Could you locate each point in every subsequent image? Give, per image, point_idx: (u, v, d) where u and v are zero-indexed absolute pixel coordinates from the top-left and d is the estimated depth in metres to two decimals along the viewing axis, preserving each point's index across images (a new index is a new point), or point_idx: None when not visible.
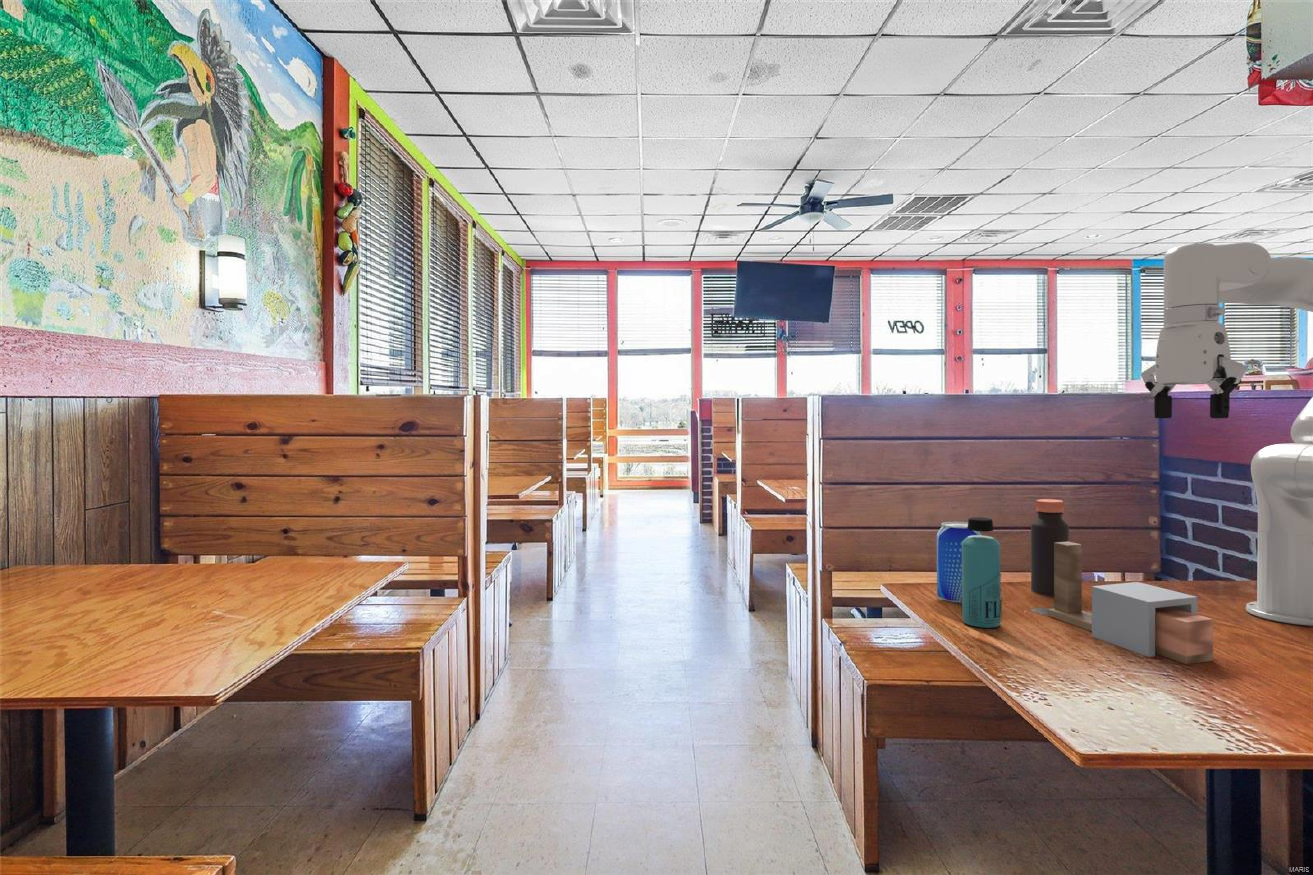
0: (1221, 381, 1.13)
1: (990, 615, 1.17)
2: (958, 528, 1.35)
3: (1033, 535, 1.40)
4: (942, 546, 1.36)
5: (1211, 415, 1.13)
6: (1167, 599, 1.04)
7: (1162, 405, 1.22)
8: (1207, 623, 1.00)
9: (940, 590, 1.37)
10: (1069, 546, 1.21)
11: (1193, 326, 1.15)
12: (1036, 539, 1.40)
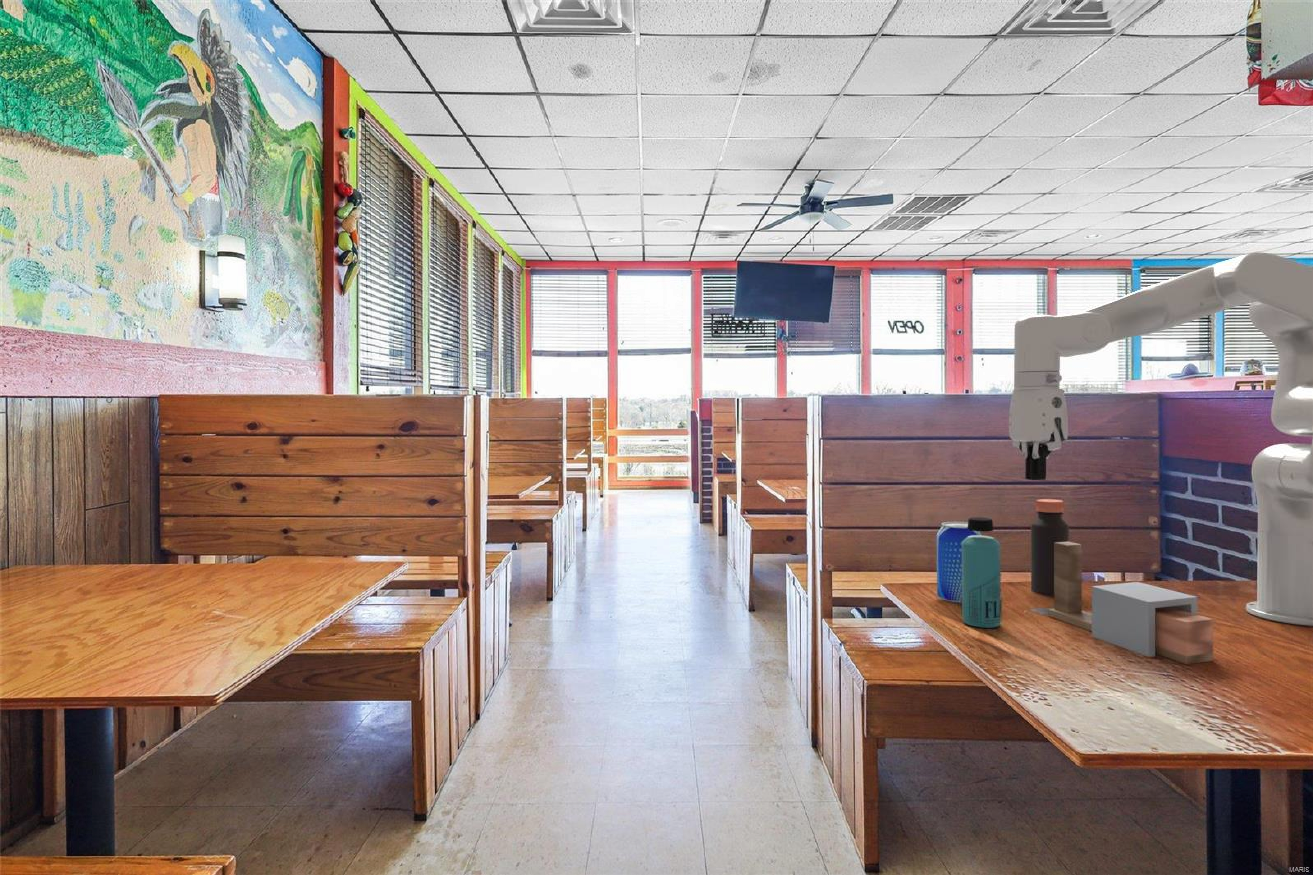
0: None
1: (990, 615, 1.17)
2: (958, 528, 1.35)
3: (1033, 535, 1.40)
4: (942, 546, 1.36)
5: (1030, 477, 1.28)
6: (1167, 599, 1.04)
7: None
8: (1207, 623, 1.00)
9: (940, 590, 1.37)
10: (1069, 546, 1.21)
11: (1035, 390, 1.26)
12: (1036, 539, 1.40)
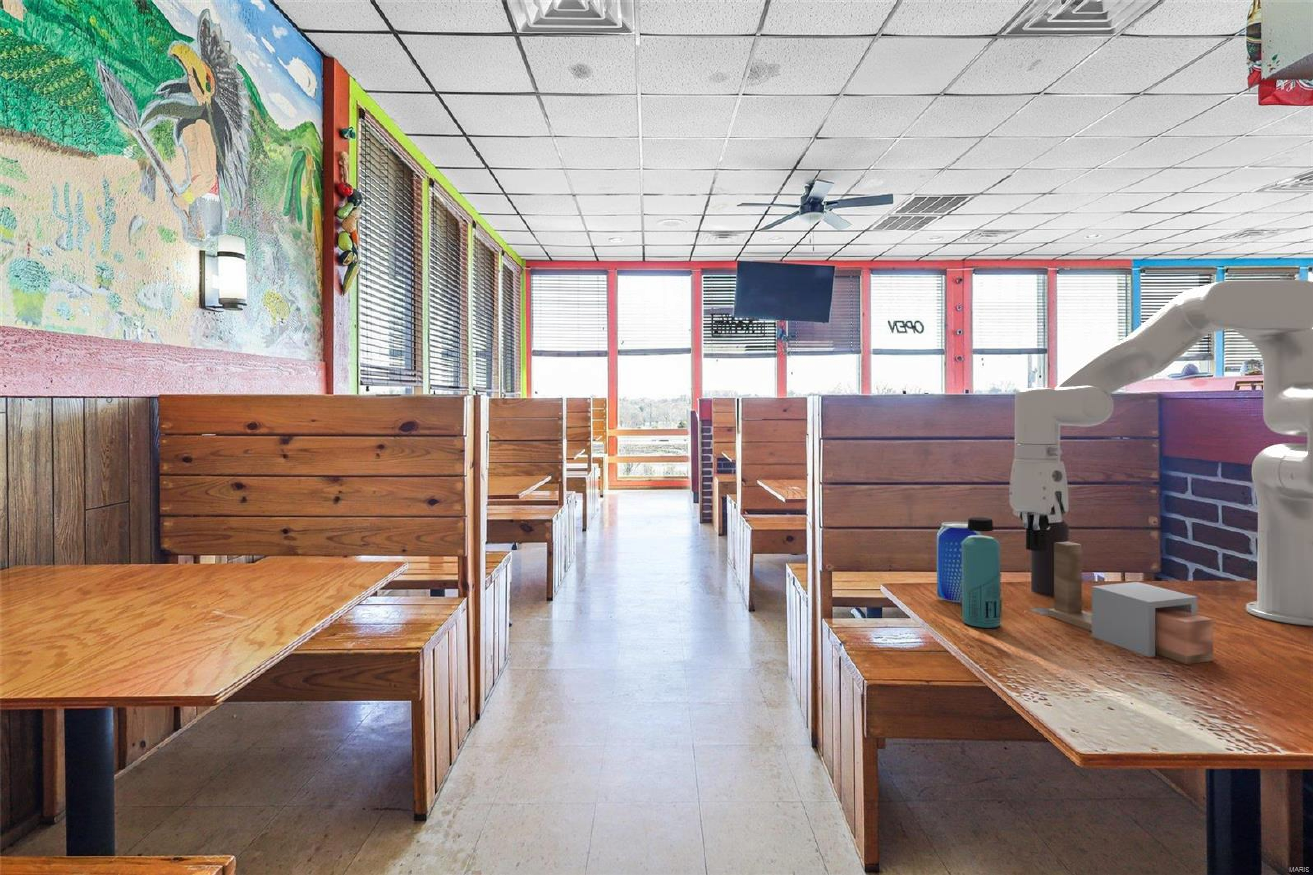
0: None
1: (990, 615, 1.17)
2: (958, 528, 1.35)
3: None
4: (942, 546, 1.36)
5: (1031, 548, 1.29)
6: (1167, 599, 1.04)
7: None
8: (1207, 623, 1.00)
9: (940, 590, 1.37)
10: (1069, 546, 1.21)
11: (1036, 463, 1.26)
12: None
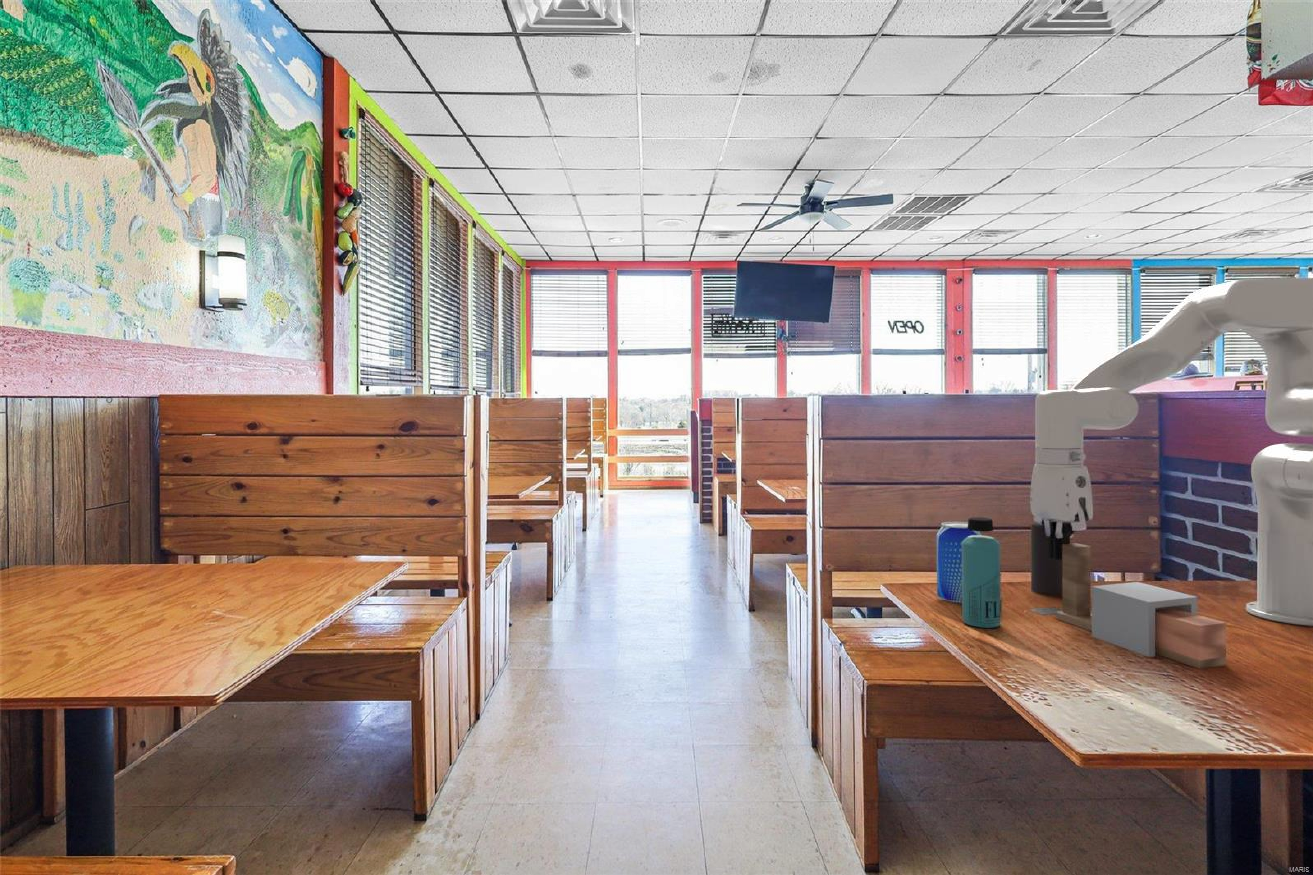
0: None
1: (990, 615, 1.17)
2: (958, 528, 1.35)
3: (1033, 535, 1.40)
4: (942, 546, 1.36)
5: (1053, 556, 1.24)
6: (1167, 599, 1.04)
7: None
8: (1220, 627, 0.99)
9: (940, 590, 1.37)
10: (1078, 548, 1.19)
11: (1058, 468, 1.21)
12: (1036, 539, 1.40)
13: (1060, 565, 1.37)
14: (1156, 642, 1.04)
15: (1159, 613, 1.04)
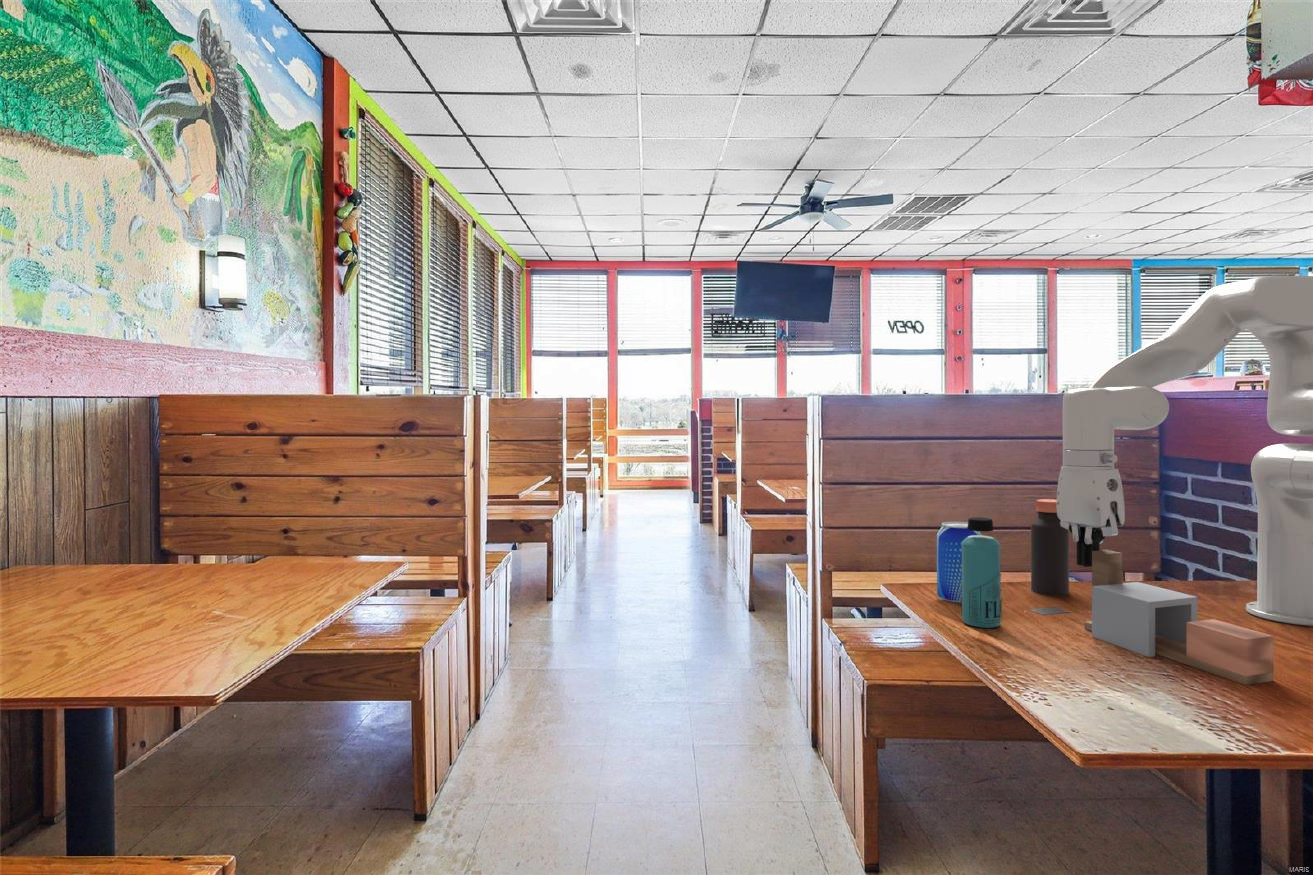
0: (1100, 530, 1.17)
1: (990, 615, 1.17)
2: (958, 528, 1.35)
3: (1033, 535, 1.40)
4: (942, 546, 1.36)
5: (1082, 563, 1.18)
6: (1167, 599, 1.04)
7: None
8: (1267, 640, 0.93)
9: (940, 590, 1.37)
10: (1109, 555, 1.13)
11: (1088, 471, 1.15)
12: (1036, 539, 1.40)
13: (1060, 565, 1.37)
14: (1197, 655, 0.98)
15: (1200, 625, 0.98)
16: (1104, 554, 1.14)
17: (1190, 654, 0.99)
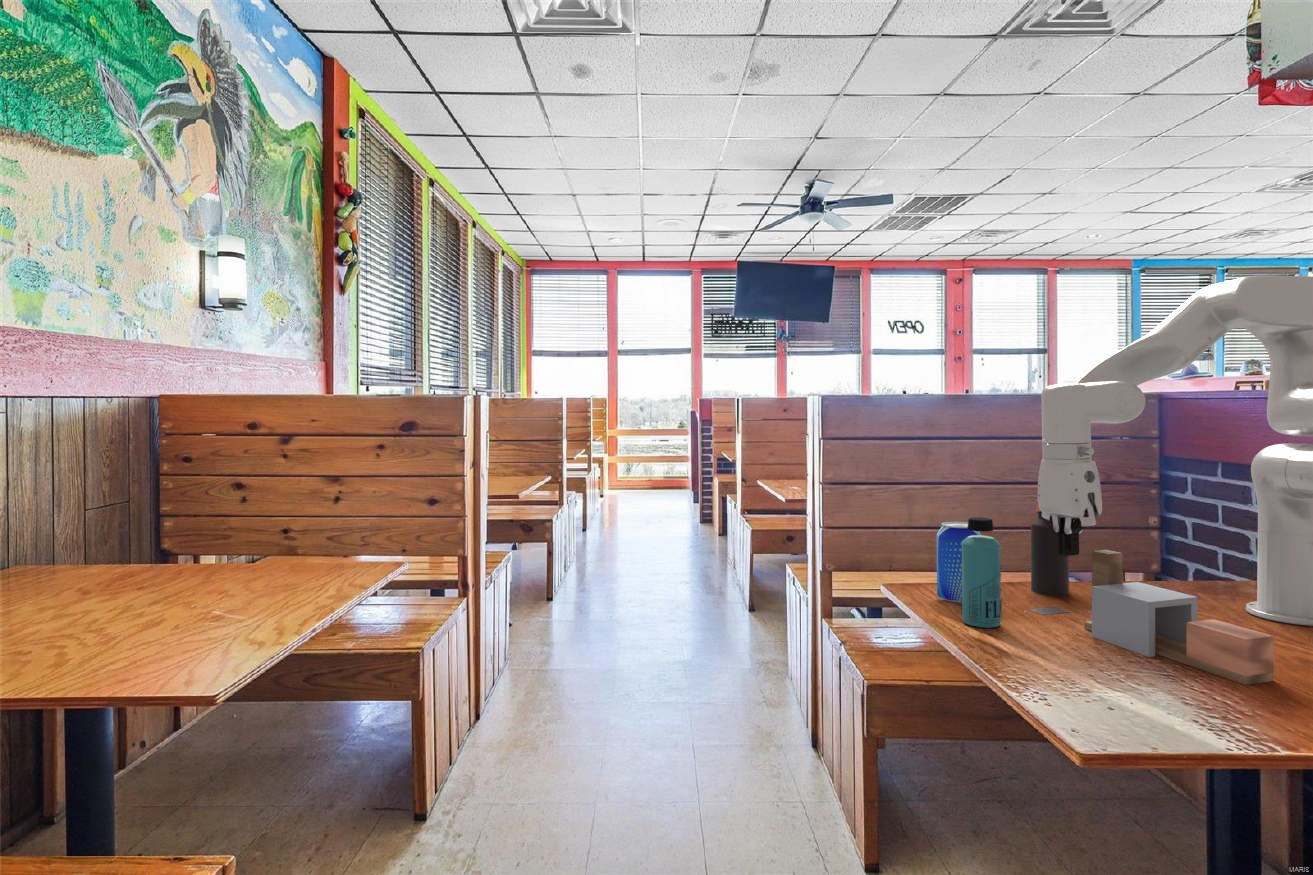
0: None
1: (990, 615, 1.17)
2: (958, 528, 1.35)
3: (1033, 535, 1.40)
4: (942, 546, 1.36)
5: (1063, 553, 1.22)
6: (1167, 599, 1.04)
7: None
8: (1267, 640, 0.93)
9: (940, 590, 1.37)
10: (1109, 555, 1.13)
11: (1066, 464, 1.20)
12: (1036, 539, 1.40)
13: (1060, 565, 1.37)
14: (1197, 655, 0.98)
15: (1200, 625, 0.98)
16: (1104, 554, 1.14)
17: (1190, 654, 0.99)
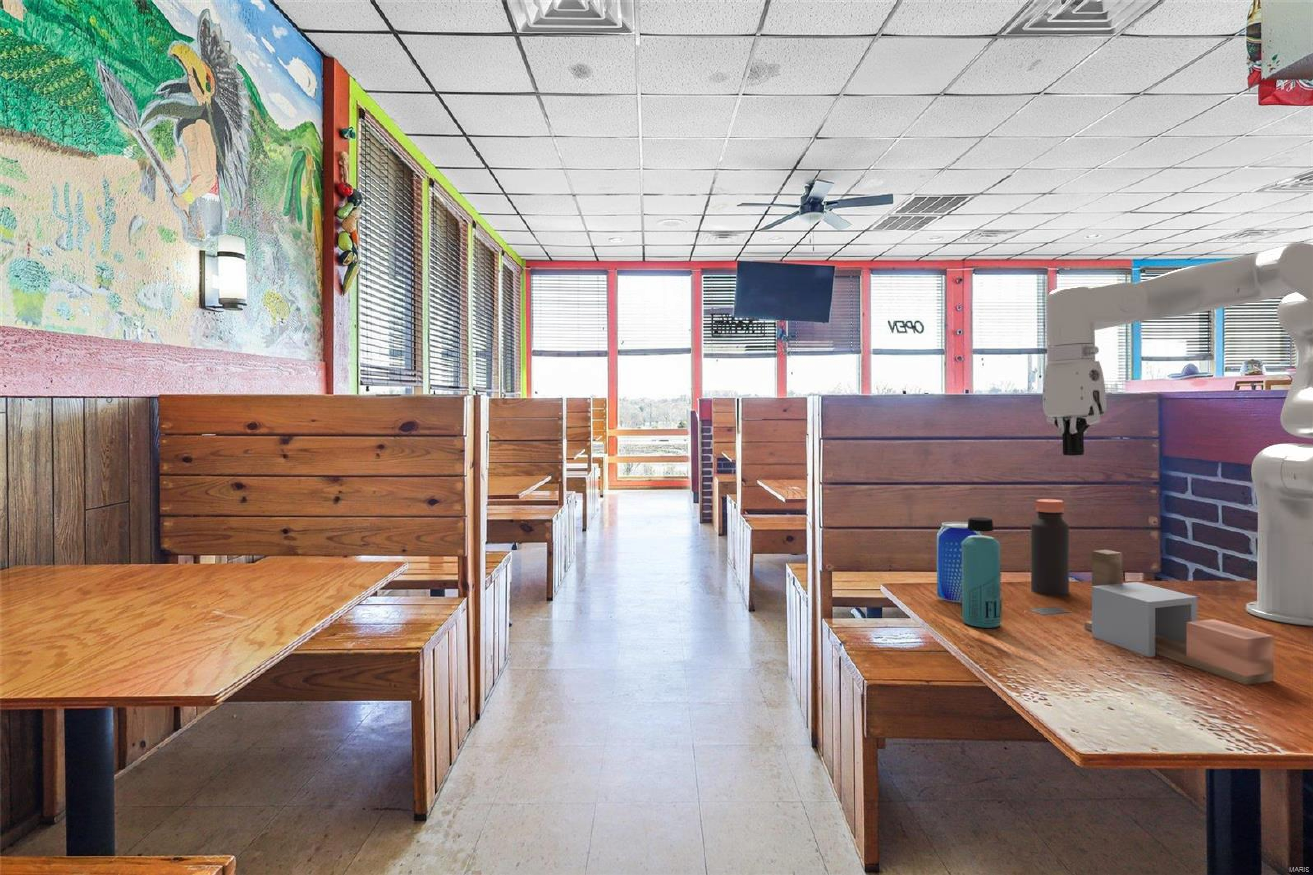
0: None
1: (990, 615, 1.17)
2: (958, 528, 1.35)
3: (1033, 535, 1.40)
4: (942, 546, 1.36)
5: (1068, 452, 1.26)
6: (1167, 599, 1.04)
7: None
8: (1267, 640, 0.93)
9: (940, 590, 1.37)
10: (1109, 555, 1.13)
11: (1071, 364, 1.23)
12: (1036, 539, 1.40)
13: (1060, 565, 1.37)
14: (1197, 655, 0.98)
15: (1200, 625, 0.98)
16: (1104, 554, 1.14)
17: (1190, 654, 0.99)
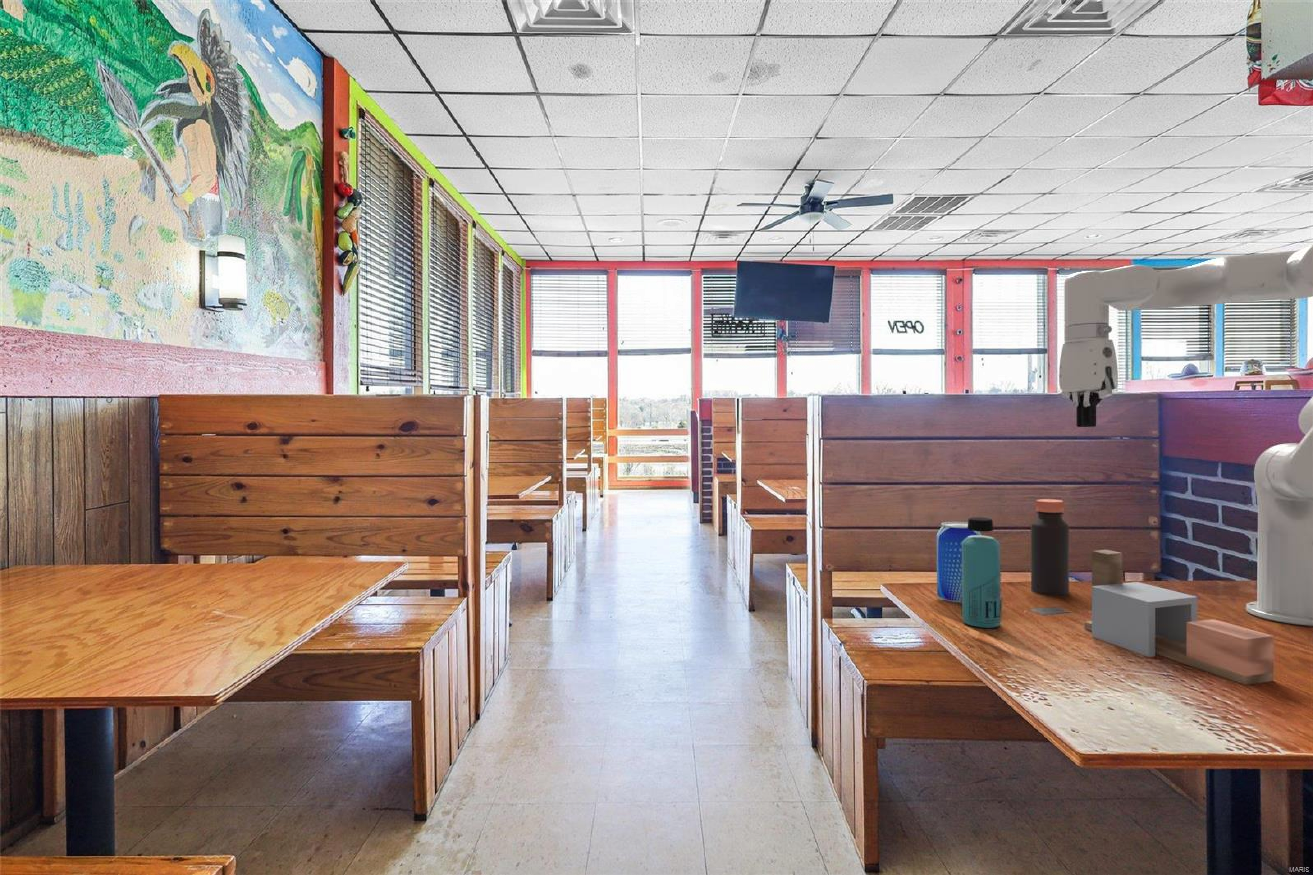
0: None
1: (990, 615, 1.17)
2: (958, 528, 1.35)
3: (1033, 535, 1.40)
4: (942, 546, 1.36)
5: (1081, 424, 1.36)
6: (1167, 599, 1.04)
7: None
8: (1267, 640, 0.93)
9: (940, 590, 1.37)
10: (1109, 555, 1.13)
11: (1086, 342, 1.34)
12: (1036, 539, 1.40)
13: (1060, 565, 1.37)
14: (1197, 655, 0.98)
15: (1200, 625, 0.98)
16: (1104, 554, 1.14)
17: (1190, 654, 0.99)
